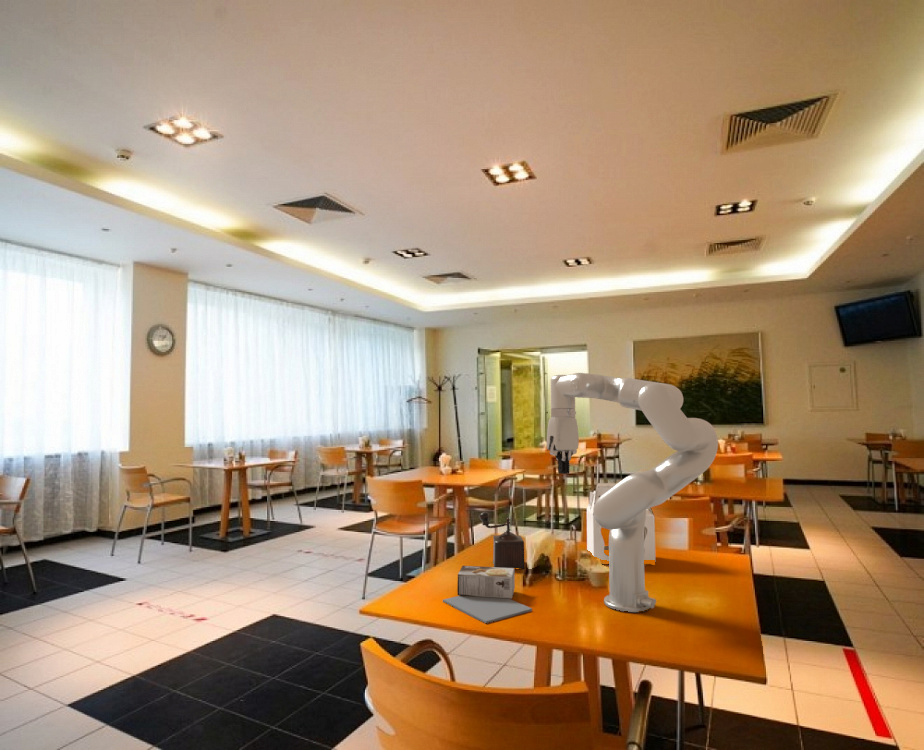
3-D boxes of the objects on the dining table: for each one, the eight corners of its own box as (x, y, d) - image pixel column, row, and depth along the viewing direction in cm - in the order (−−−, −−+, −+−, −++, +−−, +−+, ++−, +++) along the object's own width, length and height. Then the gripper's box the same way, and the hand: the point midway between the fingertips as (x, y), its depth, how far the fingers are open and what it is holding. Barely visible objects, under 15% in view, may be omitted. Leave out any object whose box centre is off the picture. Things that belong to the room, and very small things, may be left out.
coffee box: (514, 589, 165) (462, 586, 168) (514, 567, 166) (462, 564, 169) (512, 599, 156) (456, 595, 159) (511, 576, 157) (457, 573, 160)
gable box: (593, 564, 195) (591, 485, 197) (586, 555, 208) (585, 480, 210) (656, 565, 194) (654, 485, 196) (645, 555, 207) (644, 481, 209)
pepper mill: (521, 560, 200) (520, 510, 201) (525, 569, 189) (524, 516, 190) (478, 560, 200) (478, 510, 201) (480, 569, 188) (480, 516, 190)
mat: (532, 610, 149) (532, 608, 149) (485, 623, 140) (485, 621, 140) (487, 591, 165) (487, 589, 165) (442, 601, 156) (442, 599, 156)
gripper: (571, 414, 179) (571, 471, 177) (537, 414, 170) (537, 473, 169) (588, 414, 172) (589, 473, 171) (554, 414, 164) (555, 476, 163)
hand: (563, 473), depth 170 cm, fingers closed
